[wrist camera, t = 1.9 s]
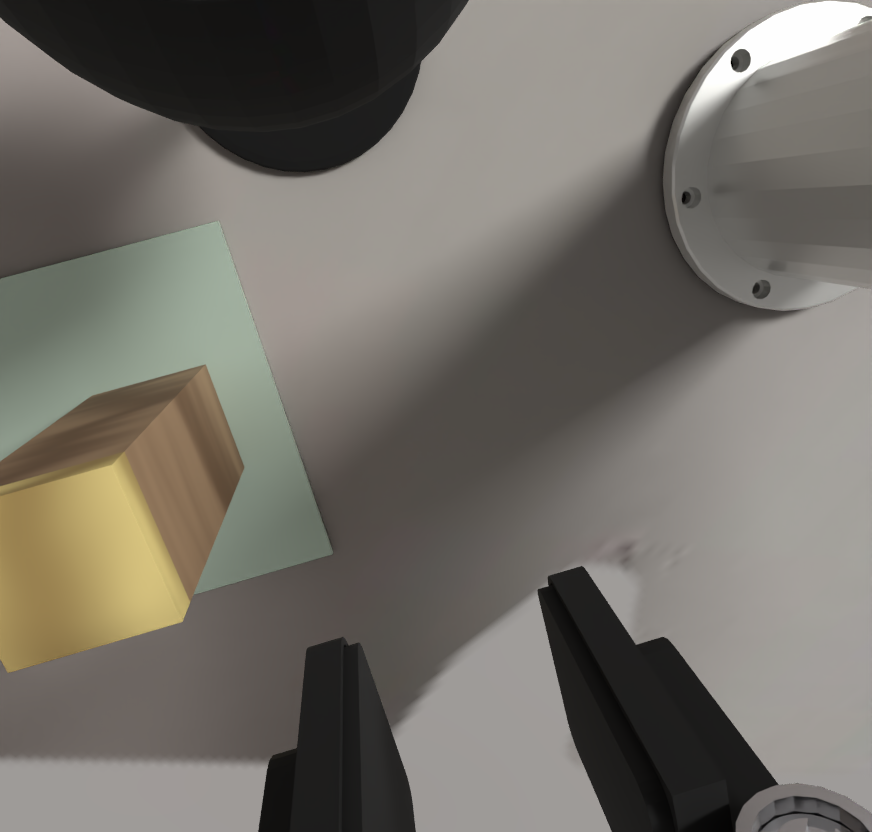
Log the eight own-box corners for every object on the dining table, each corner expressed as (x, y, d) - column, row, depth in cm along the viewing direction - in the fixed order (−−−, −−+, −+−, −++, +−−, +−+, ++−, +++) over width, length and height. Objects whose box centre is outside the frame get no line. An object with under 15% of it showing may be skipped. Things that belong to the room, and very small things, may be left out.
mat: (219, 220, 27) (217, 220, 27) (333, 551, 32) (333, 554, 32) (-271, 350, 26) (-278, 352, 26) (-75, 669, 31) (-79, 673, 31)
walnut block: (205, 364, 29) (112, 464, 17) (244, 467, 30) (182, 622, 19) (91, 395, 28) (-80, 518, 17) (137, 497, 30) (7, 673, 19)
